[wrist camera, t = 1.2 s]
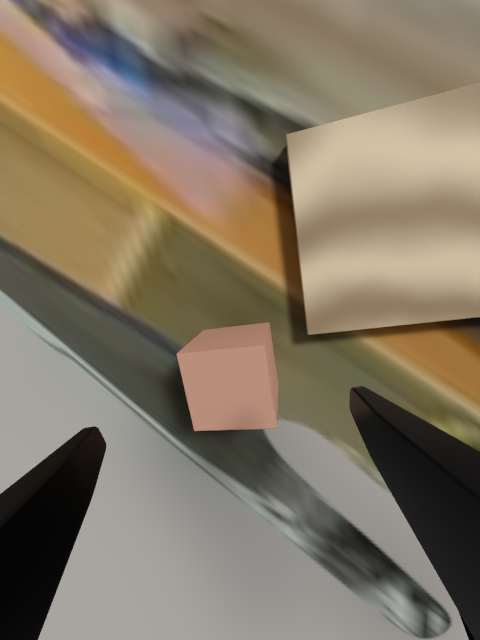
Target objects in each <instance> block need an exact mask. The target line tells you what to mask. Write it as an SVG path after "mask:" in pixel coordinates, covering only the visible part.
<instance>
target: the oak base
mask: <svg viewBox="0 0 480 640" xmlns="http://www.w3.org/2000/svg"><path fill="white" fill-rule="evenodd" d="M286 148H287V157H288V166H289V175H290V184H291V194H292V203H293V212H294V221H295V230H296V239H297V248H298V257H299V267H300V276H301V285H302V294H303V303H304V312H305V321H306V330H307V333H308V335H312V334H321V333H331V332H341V331H350V330H360V329H369V328H379V327H389V326H398V325H408V324H417V323H427V322H436V321H446V320H456V319H465V318H475V317H480V83H476V84H472V85H469V86H465V87H461V88H457V89H454V90H450V91H446V92H443V93H439V94H435V95H432V96H428V97H424V98H420V99H417V100H413V101H409V102H406V103H402V104H398V105H394V106H391V107H387V108H383V109H380V110H376V111H372V112H368V113H365V114H361V115H357V116H354V117H350V118H346V119H342V120H339V121H335V122H331V123H328V124H324V125H320V126H316V127H313V128H309V129H305V130H302V131H298V132H294V133H291V134H287V135H286Z"/></svg>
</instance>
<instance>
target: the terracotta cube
mask: <svg viewBox="0 0 480 640" xmlns="http://www.w3.org/2000/svg"><path fill="white" fill-rule="evenodd" d="M177 358H178V362H179V367H180V371H181V375H182V380H183V384H184V389H185V393H186V397H187V402H188V406H189V410H190V415H191V419H192V423H193V428H194V431H208V430H242V429H273V428H274V429H275V428H277V408H278V380H277V373H276V365H275V358H274V351H273V344H272V337H271V330H270V323H269V322H268V323H259V324H251V325H243V326H234V327H226V328H217V329H209V330H203V331H202V332H201V333H200V334H199V335H198V336H196V337H195V338H194V339H193V340H192V341H191V342H190V343H188V344H187V345H186V346H185V347H184V348H183V349H181V350H180V351H179V352H178V353H177Z"/></svg>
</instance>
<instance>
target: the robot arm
mask: <svg viewBox="0 0 480 640" xmlns="http://www.w3.org/2000/svg"><path fill="white" fill-rule="evenodd" d="M349 406H350V411H351V414H352V416H353V418H354V420H355V423H356V425H357V427H358V430H359V432H360V434H361V436H362V439H363V441H364V443H365V445H366V448H367V450H368V452H369V454H370V456H371V458H372V460H373V462H374V463H375V465H376V467H377V469H378V470H379V472H380V474H381V476H382V477H383V479H384V481H385V483H386V484H387V486H388V488H389V490H390V491H391V493H392V495H393V497H394V498H395V500H396V502H397V504H398V506H399V507H400V509H401V511H402V512H403V514H404V516H405V518H406V519H407V521H408V523H409V525H410V526H411V528H412V530H413V532H414V534H415V535H416V537H417V539H418V541H419V542H420V544H421V546H422V548H423V549H424V551H425V553H426V555H427V556H428V558H429V560H430V562H431V563H432V565H433V567H434V569H435V570H436V572H437V574H438V576H439V577H440V579H441V581H442V583H443V584H444V586H445V588H446V590H447V591H448V593H449V595H450V597H451V598H452V600H453V602H454V604H455V605H456V607H457V609H458V611H459V614H460V616H461V619H462V622H463V624H464V627H465V630H466V633H467V635H468V638H469V640H480V451H478V450H476V449H474V448H473V447H471V446H469V445H467V444H466V443H464V442H462V441H460V440H458V439H457V438H455V437H453V436H451V435H449V434H448V433H446V432H444V431H442V430H441V429H439V428H437V427H435V426H433V425H432V424H430V423H428V422H426V421H425V420H423V419H421V418H419V417H417V416H416V415H414V414H412V413H410V412H408V411H407V410H405V409H403V408H401V407H400V406H398V405H396V404H394V403H392V402H391V401H389V400H387V399H385V398H384V397H382V396H380V395H378V394H376V393H375V392H373V391H371V390H369V389H367V388H366V387H363V386H359V387H353V388H351V390H350V404H349ZM105 451H106V442H105V440H104V438H103V436H102V434H101V432H100V431H99V429H98V428H97V427H88V428H84V429H82V430H81V431H80V432H78V433H77V434H76V435H74V436H73V437H72V438H71V439H69V440H68V441H67V442H66V443H64V444H63V445H62V446H61V447H59V448H58V449H57V450H56V451H54V452H53V453H52V454H50V455H49V456H48V457H47V458H46V459H44V460H43V461H42V462H40V463H39V464H38V465H37V466H36V467H34V468H33V469H32V470H30V471H29V472H28V473H26V474H25V475H24V476H23V477H21V478H20V479H19V480H18V481H17V482H15V483H14V484H13V485H11V486H10V487H9V488H8V489H6V490H5V491H4V492H3V493H1V494H0V640H38V638H39V635H40V632H41V629H42V627H43V625H44V622H45V619H46V617H47V614H48V612H49V609H50V606H51V604H52V601H53V598H54V596H55V593H56V590H57V588H58V585H59V583H60V580H61V577H62V575H63V572H64V569H65V567H66V564H67V562H68V559H69V556H70V554H71V551H72V549H73V546H74V543H75V541H76V538H77V536H78V533H79V530H80V528H81V525H82V522H83V520H84V517H85V515H86V512H87V509H88V507H89V504H90V501H91V498H92V496H93V492H94V489H95V486H96V482H97V479H98V475H99V472H100V468H101V465H102V461H103V458H104V454H105Z"/></svg>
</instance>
